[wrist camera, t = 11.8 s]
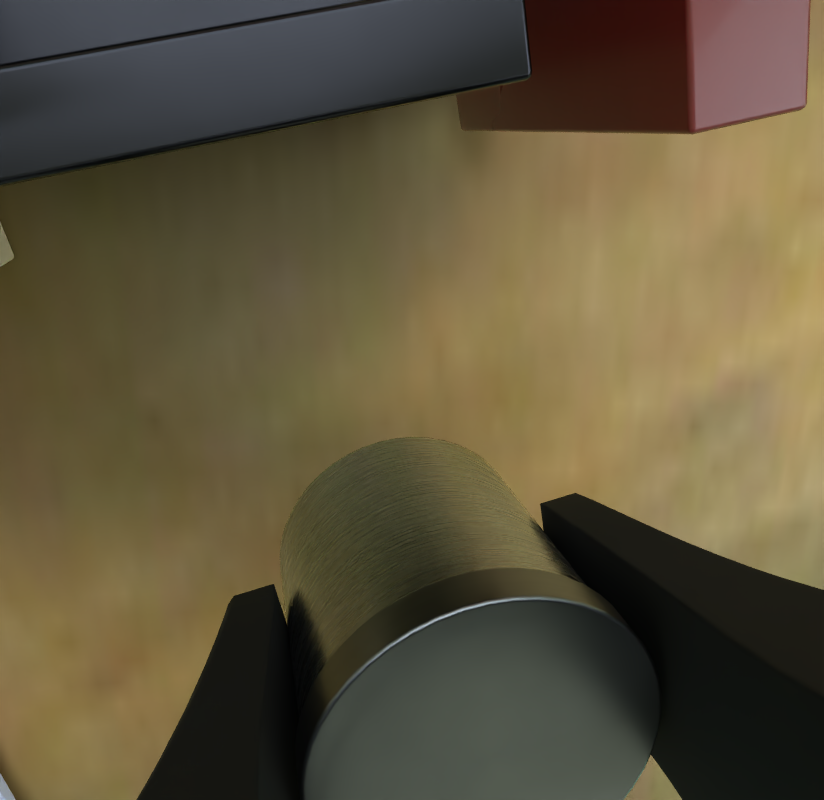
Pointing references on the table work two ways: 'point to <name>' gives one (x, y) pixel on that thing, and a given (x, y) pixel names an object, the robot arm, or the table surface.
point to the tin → (452, 641)
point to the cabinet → (4, 248)
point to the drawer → (379, 69)
